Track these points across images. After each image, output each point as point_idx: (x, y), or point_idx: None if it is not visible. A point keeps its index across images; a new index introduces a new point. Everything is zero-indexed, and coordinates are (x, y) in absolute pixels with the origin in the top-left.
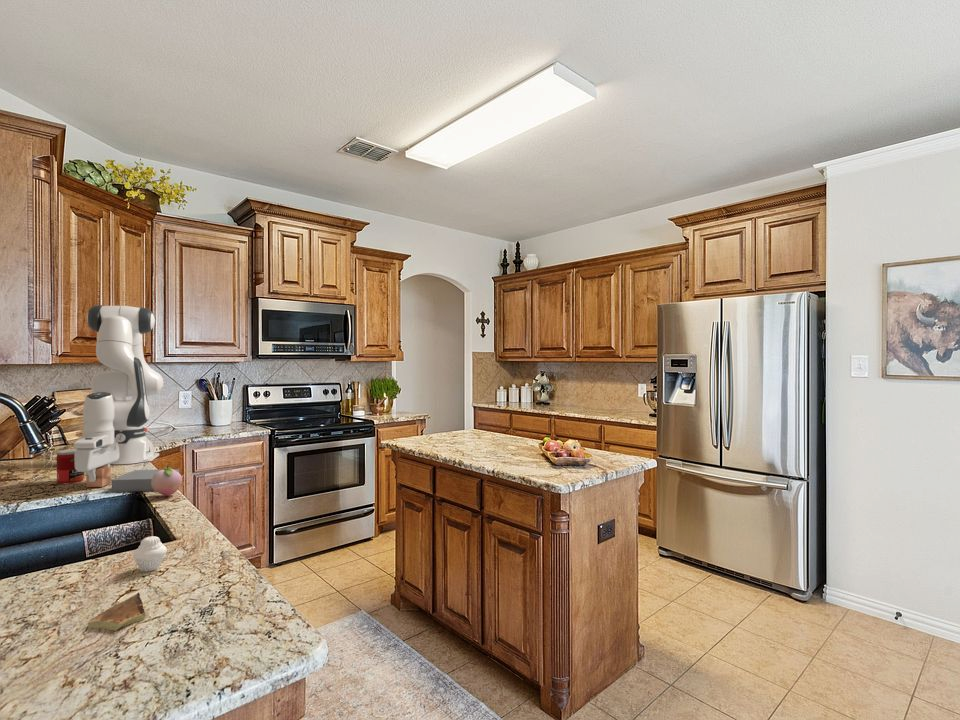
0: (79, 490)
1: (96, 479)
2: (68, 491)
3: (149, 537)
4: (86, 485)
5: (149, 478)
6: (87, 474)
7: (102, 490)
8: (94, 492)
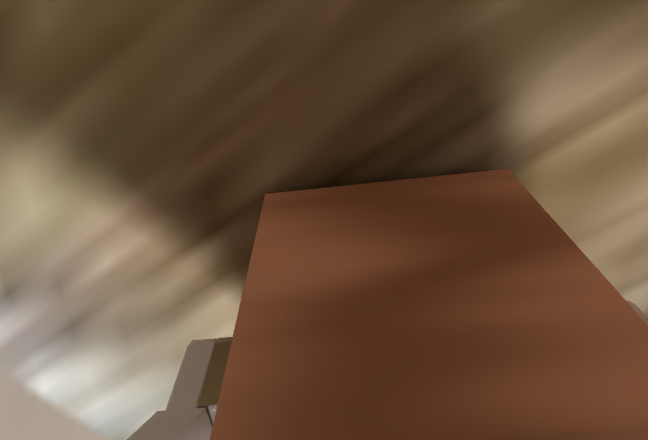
0: (134, 176)
1: None
2: (38, 45)
3: None
4: (261, 211)
5: None
6: (241, 360)
7: None
8: (86, 397)
